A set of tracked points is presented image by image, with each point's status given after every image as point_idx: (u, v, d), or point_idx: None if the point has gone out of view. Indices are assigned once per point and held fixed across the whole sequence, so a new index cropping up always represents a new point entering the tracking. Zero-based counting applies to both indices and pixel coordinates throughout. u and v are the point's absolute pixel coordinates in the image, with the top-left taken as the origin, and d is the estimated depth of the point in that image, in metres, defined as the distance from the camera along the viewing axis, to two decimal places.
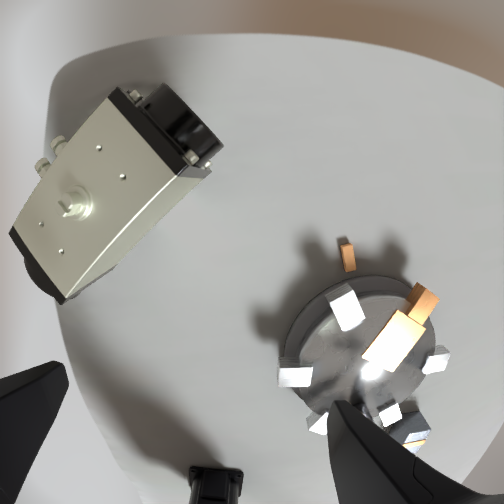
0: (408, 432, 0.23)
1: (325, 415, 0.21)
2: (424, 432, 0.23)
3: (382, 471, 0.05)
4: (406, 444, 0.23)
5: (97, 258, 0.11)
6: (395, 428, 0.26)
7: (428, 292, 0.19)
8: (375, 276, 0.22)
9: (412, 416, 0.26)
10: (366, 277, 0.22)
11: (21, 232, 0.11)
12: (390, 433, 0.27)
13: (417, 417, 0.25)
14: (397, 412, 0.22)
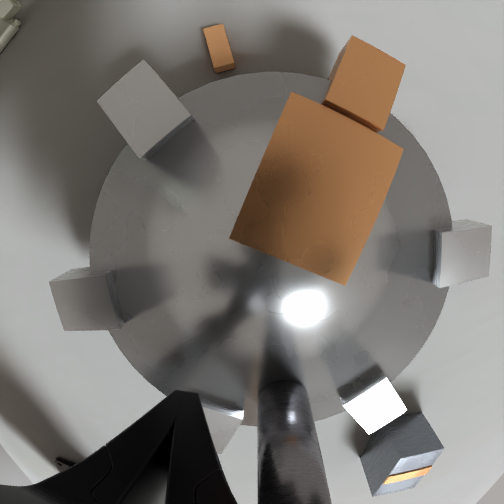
0: (399, 456, 0.11)
1: None
2: (430, 455, 0.11)
3: (168, 470, 0.05)
4: (394, 476, 0.11)
5: None
6: (375, 444, 0.14)
7: (363, 45, 0.06)
8: None
9: (408, 422, 0.13)
10: None
11: None
12: (366, 452, 0.14)
13: (418, 424, 0.13)
14: (392, 399, 0.09)
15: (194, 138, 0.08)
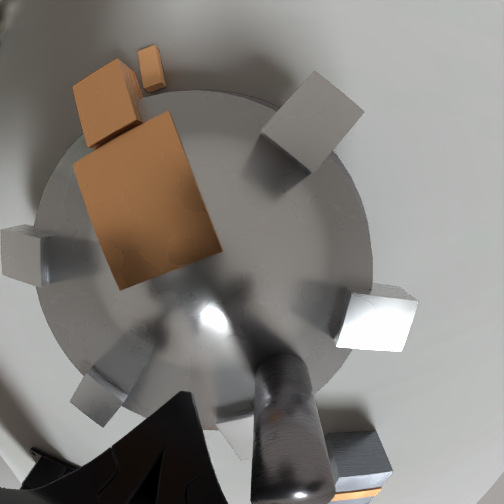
0: (338, 474, 0.11)
1: (222, 428, 0.09)
2: (377, 476, 0.11)
3: (160, 468, 0.05)
4: (336, 494, 0.11)
5: None
6: None
7: (82, 83, 0.07)
8: None
9: (358, 440, 0.13)
10: None
11: None
12: None
13: (368, 443, 0.13)
14: (386, 305, 0.08)
15: (57, 247, 0.09)
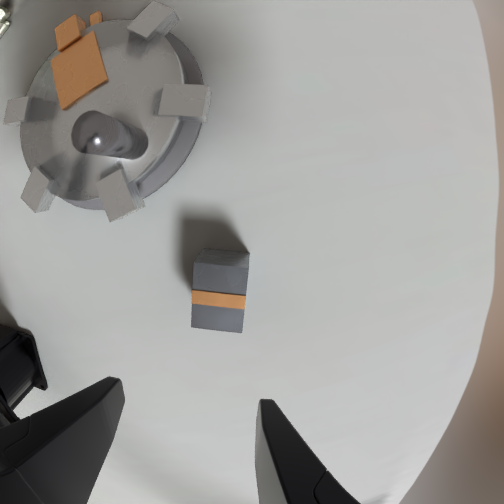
0: (194, 261, 0.16)
1: (98, 186, 0.15)
2: (233, 272, 0.16)
3: (279, 480, 0.05)
4: (198, 292, 0.16)
5: None
6: None
7: (59, 26, 0.12)
8: None
9: (227, 253, 0.19)
10: None
11: None
12: None
13: (236, 255, 0.18)
14: (185, 88, 0.14)
15: (36, 100, 0.14)
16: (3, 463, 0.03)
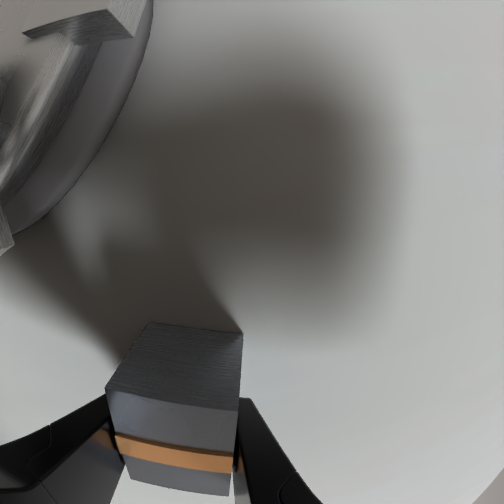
0: (107, 383, 0.06)
1: None
2: (201, 418, 0.06)
3: (246, 479, 0.05)
4: (128, 441, 0.06)
5: None
6: None
7: None
8: None
9: (194, 342, 0.08)
10: None
11: None
12: None
13: (212, 350, 0.08)
14: None
15: None
16: (26, 477, 0.03)
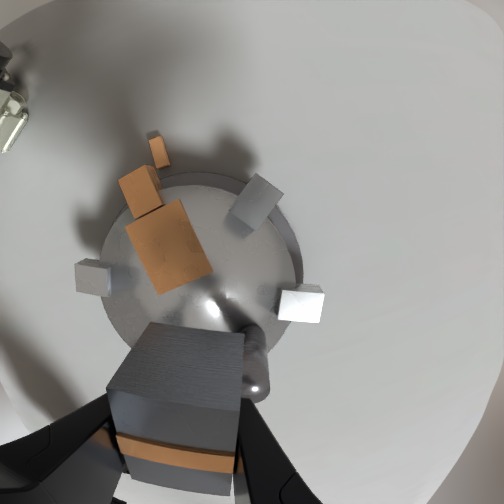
0: None
1: None
2: (202, 418, 0.06)
3: (246, 479, 0.05)
4: (129, 441, 0.06)
5: None
6: None
7: (124, 178, 0.15)
8: None
9: (195, 342, 0.08)
10: None
11: None
12: None
13: (213, 350, 0.08)
14: (303, 296, 0.16)
15: (117, 273, 0.17)
16: (26, 477, 0.03)
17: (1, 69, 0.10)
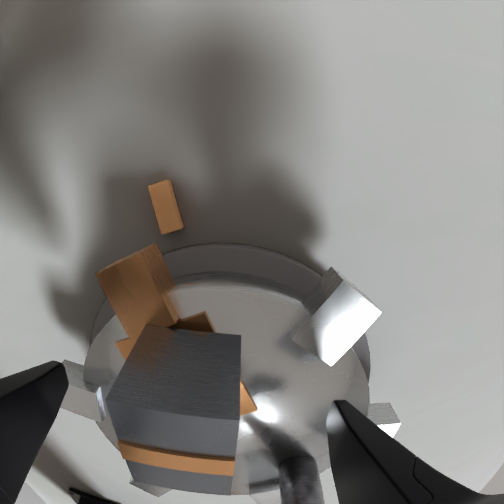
0: (108, 394, 0.06)
1: (253, 496, 0.11)
2: (203, 427, 0.06)
3: (382, 471, 0.05)
4: (131, 448, 0.06)
5: None
6: None
7: (106, 273, 0.08)
8: (229, 244, 0.12)
9: (192, 346, 0.08)
10: (206, 245, 0.12)
11: None
12: None
13: (211, 354, 0.08)
14: None
15: None
16: None
17: None
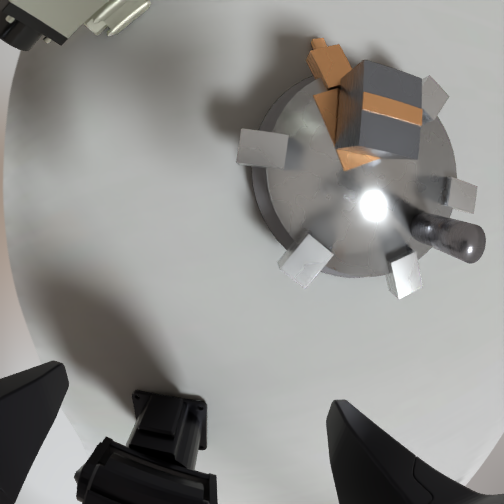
0: None
1: (394, 266, 0.16)
2: (408, 80, 0.10)
3: (382, 471, 0.05)
4: (371, 95, 0.10)
5: None
6: (343, 104, 0.13)
7: (318, 51, 0.13)
8: None
9: None
10: None
11: None
12: (339, 128, 0.14)
13: None
14: (465, 185, 0.15)
15: (295, 144, 0.15)
16: None
17: None
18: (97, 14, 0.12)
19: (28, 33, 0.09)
